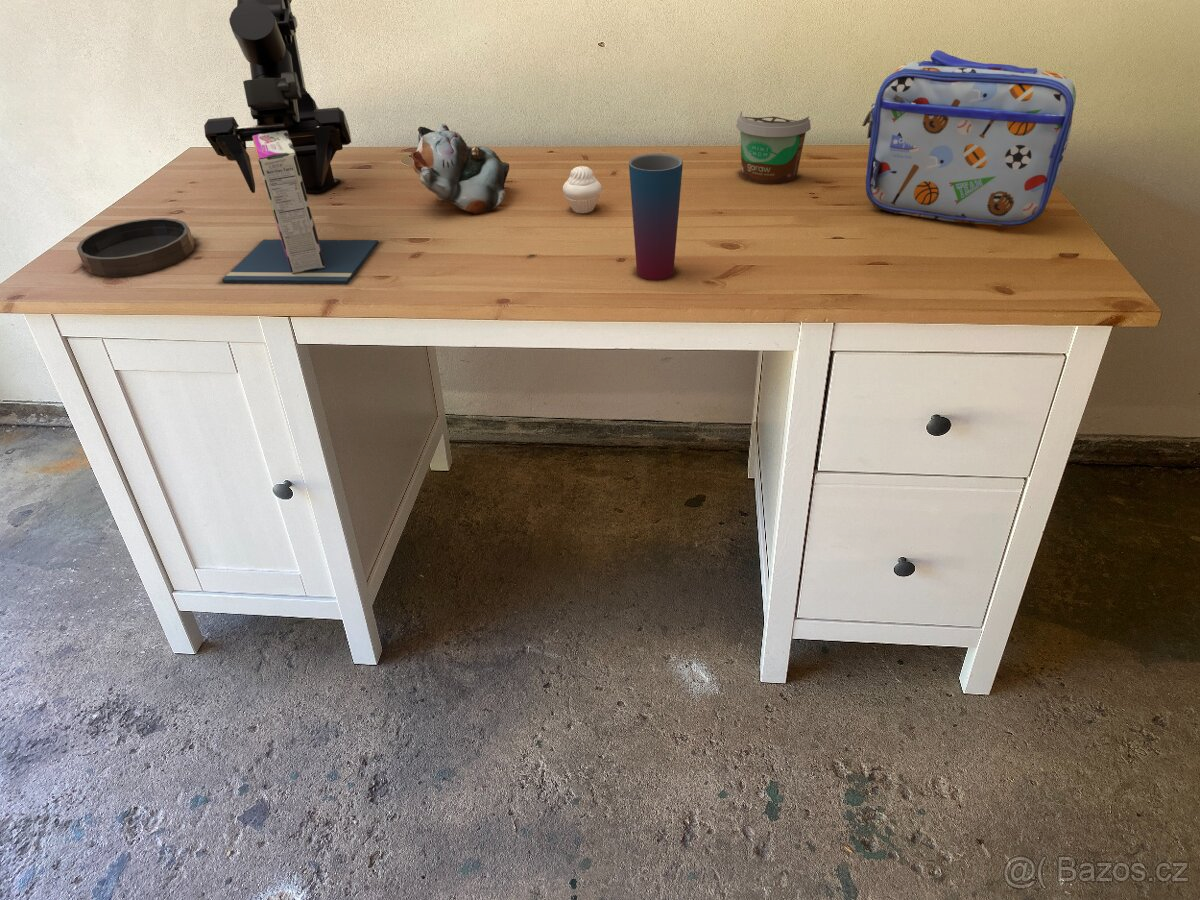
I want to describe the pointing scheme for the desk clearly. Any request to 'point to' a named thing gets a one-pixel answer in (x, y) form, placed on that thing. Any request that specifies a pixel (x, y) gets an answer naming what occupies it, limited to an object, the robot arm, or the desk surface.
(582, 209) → the muffin
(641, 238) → the cup
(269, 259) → the notebook
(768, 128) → the food container
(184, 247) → the pan
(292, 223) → the candy bar box
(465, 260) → the desk surface
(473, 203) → the lucky cat figurine
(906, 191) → the lunch box
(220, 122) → the robot arm
